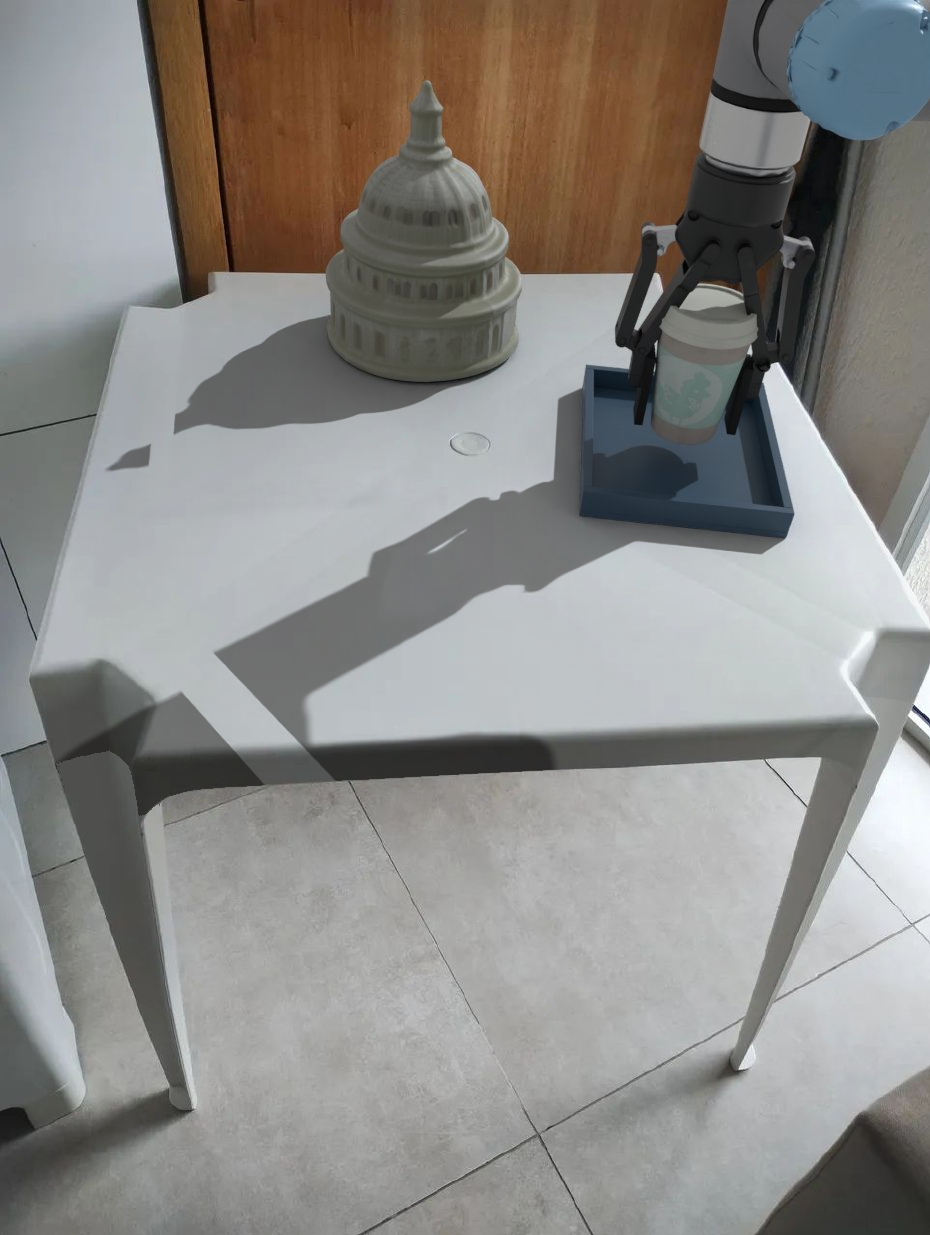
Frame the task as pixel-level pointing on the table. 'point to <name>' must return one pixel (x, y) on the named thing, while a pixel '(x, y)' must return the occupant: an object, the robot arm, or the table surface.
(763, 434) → the tray
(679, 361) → the coffee cup
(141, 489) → the table surface
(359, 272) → the dome
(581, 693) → the table surface
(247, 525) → the table surface
